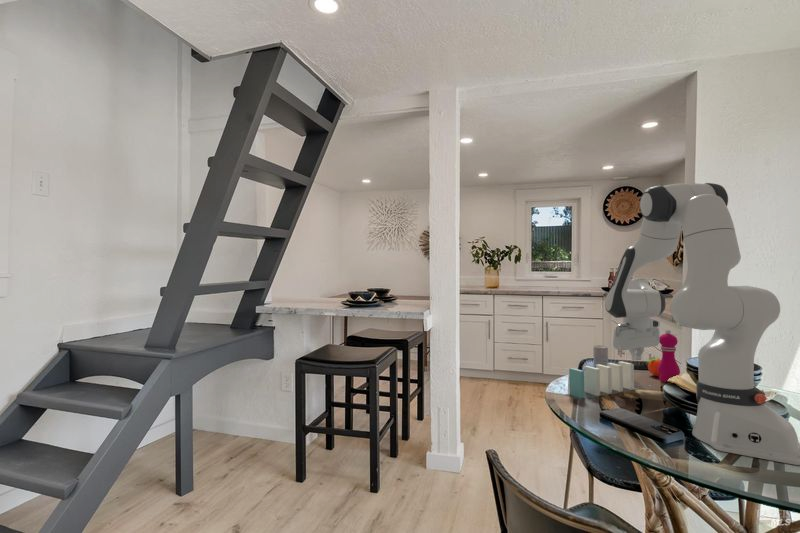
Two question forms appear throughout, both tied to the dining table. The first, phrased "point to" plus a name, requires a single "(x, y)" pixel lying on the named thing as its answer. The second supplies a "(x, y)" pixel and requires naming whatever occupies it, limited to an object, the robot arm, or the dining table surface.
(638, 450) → the dining table surface
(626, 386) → the domino
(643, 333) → the robot arm
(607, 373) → the domino
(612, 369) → the domino
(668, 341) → the pepper mill
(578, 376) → the domino
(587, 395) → the mat
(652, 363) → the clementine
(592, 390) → the domino
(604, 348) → the energy drink
